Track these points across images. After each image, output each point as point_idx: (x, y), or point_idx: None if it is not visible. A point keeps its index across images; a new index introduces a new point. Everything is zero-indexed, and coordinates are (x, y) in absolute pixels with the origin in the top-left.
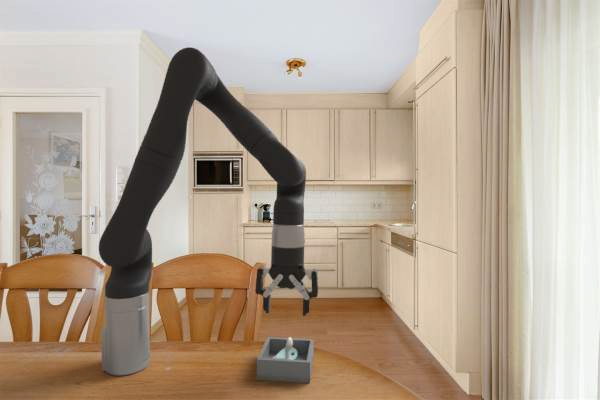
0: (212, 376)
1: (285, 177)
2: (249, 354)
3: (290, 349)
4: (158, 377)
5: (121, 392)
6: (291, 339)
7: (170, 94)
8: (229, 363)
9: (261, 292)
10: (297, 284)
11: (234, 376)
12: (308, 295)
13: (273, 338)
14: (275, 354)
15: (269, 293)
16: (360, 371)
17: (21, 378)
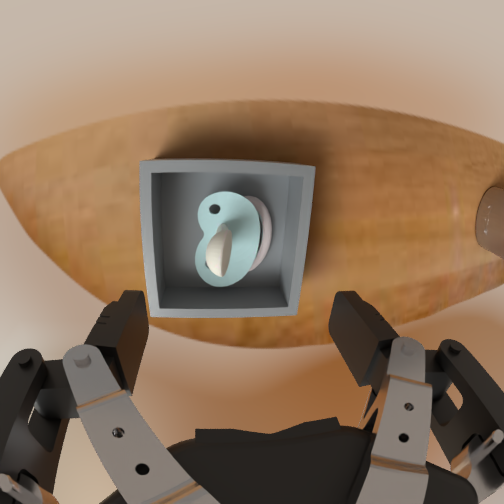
0: (392, 179)
1: None
2: (327, 285)
3: (219, 278)
4: (461, 180)
5: (483, 140)
6: (210, 256)
7: None
8: (367, 237)
9: (431, 359)
10: (129, 459)
11: (350, 178)
12: (64, 366)
13: (277, 309)
14: (262, 278)
15: (393, 360)
16: (49, 234)
17: None
